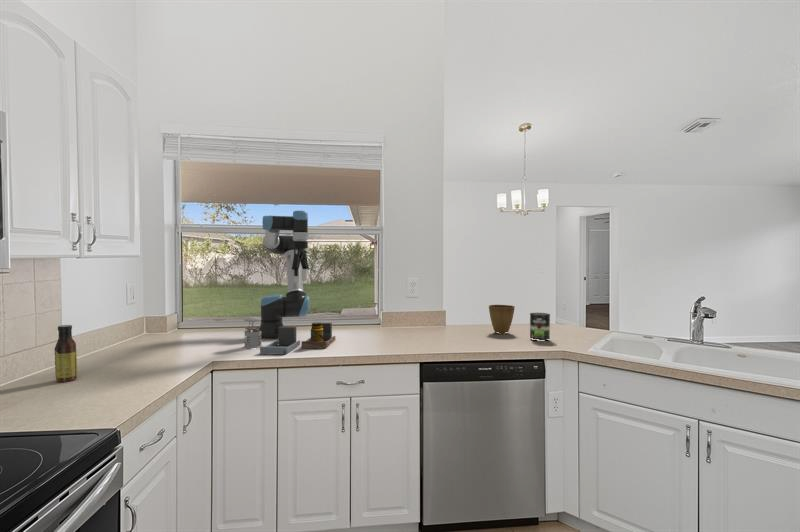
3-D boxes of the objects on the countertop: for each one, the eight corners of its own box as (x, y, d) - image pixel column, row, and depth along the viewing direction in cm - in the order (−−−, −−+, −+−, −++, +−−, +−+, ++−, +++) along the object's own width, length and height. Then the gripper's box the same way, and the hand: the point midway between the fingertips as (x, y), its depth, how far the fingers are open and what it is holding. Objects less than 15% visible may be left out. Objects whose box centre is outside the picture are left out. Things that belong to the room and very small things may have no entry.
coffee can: (549, 342, 227) (549, 315, 226) (528, 340, 230) (529, 314, 230) (550, 338, 236) (550, 313, 236) (530, 337, 240) (530, 312, 240)
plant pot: (484, 333, 252) (484, 306, 252) (494, 330, 265) (494, 304, 264) (509, 336, 244) (509, 307, 244) (518, 332, 256) (518, 305, 256)
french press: (243, 350, 207) (243, 298, 207) (240, 345, 217) (240, 296, 217) (265, 348, 212) (264, 297, 211) (260, 344, 222) (260, 295, 222)
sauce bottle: (63, 378, 158) (62, 324, 158) (81, 377, 159) (80, 323, 159) (50, 383, 152) (49, 326, 152) (69, 382, 152) (68, 326, 152)
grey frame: (277, 344, 219) (276, 326, 219) (300, 344, 218) (300, 326, 218) (260, 353, 197) (260, 333, 197) (286, 354, 196) (285, 334, 196)
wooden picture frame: (313, 339, 232) (313, 322, 232) (335, 339, 231) (335, 322, 231) (301, 347, 210) (301, 329, 210) (325, 348, 209) (325, 329, 209)
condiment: (326, 347, 213) (326, 323, 213) (310, 349, 208) (310, 324, 208) (319, 345, 219) (319, 321, 219) (304, 347, 214) (303, 323, 214)
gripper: (300, 239, 211) (300, 283, 211) (313, 241, 236) (314, 280, 236) (285, 239, 211) (285, 283, 212) (300, 241, 236) (300, 280, 236)
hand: (300, 282), depth 224 cm, fingers open, 13 cm apart
